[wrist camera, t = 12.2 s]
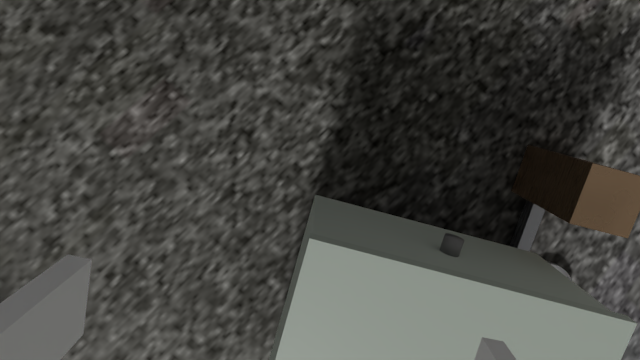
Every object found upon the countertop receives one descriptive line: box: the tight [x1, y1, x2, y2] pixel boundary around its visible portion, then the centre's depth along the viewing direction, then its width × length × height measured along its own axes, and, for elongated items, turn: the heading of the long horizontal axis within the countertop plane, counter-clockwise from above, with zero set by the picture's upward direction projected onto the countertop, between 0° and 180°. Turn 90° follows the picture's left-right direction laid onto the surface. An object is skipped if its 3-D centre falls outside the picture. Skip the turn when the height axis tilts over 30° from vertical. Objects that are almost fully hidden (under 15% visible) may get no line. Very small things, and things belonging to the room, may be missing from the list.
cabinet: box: [269, 195, 637, 360], centre depth 36 cm, size 18×21×16 cm
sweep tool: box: [510, 145, 640, 251], centre depth 38 cm, size 15×4×10 cm, turn 165°
